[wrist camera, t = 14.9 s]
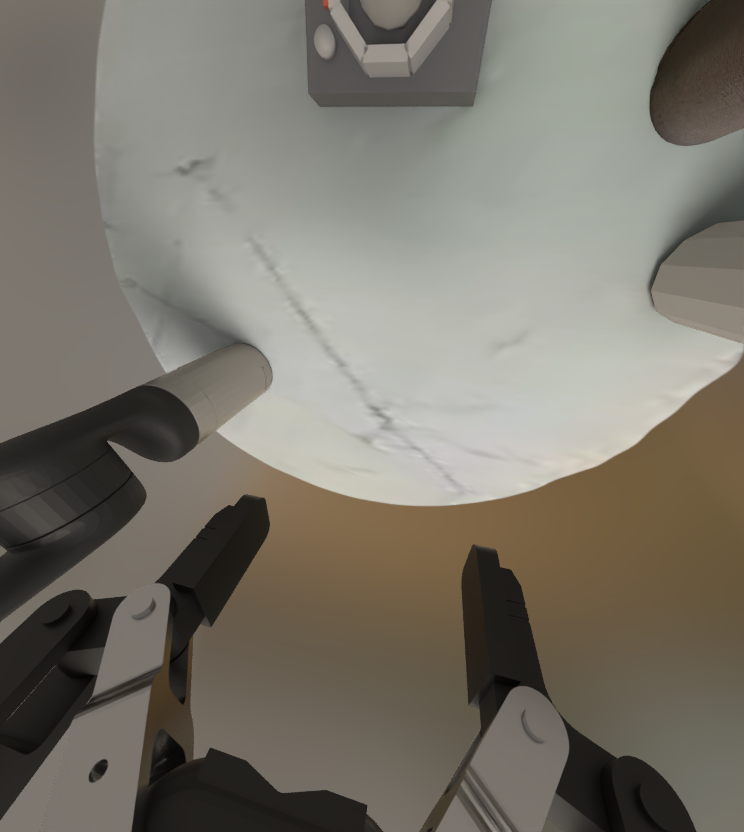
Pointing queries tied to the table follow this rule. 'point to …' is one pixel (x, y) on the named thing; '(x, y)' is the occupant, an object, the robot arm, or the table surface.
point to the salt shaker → (390, 12)
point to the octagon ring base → (395, 54)
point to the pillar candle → (702, 77)
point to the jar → (705, 282)
